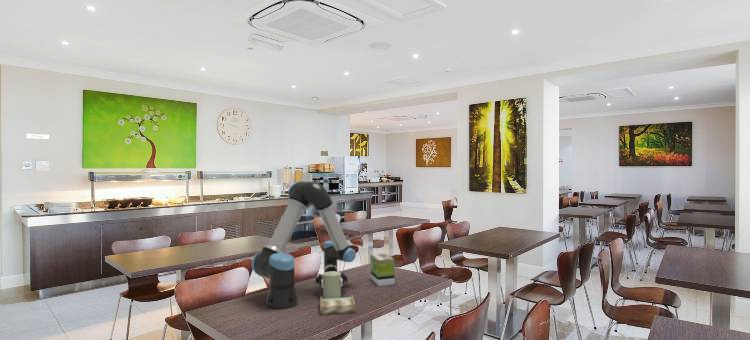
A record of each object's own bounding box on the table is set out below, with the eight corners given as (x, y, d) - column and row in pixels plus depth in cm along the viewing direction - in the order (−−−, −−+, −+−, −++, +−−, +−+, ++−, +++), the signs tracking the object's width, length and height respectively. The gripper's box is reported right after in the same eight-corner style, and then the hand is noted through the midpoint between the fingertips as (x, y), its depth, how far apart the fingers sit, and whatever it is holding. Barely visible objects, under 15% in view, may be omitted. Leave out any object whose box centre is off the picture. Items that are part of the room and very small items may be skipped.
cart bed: (320, 314, 183) (320, 306, 183) (320, 303, 199) (320, 295, 199) (355, 312, 185) (355, 304, 185) (352, 301, 201) (352, 294, 201)
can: (319, 297, 208) (318, 273, 208) (330, 292, 216) (329, 269, 216) (334, 299, 203) (333, 275, 203) (344, 294, 211) (344, 271, 211)
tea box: (370, 279, 240) (369, 254, 240) (386, 277, 243) (386, 252, 243) (377, 286, 226) (377, 259, 225) (395, 284, 229) (394, 258, 228)
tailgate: (320, 303, 198) (320, 301, 198) (320, 300, 203) (320, 298, 203) (352, 301, 200) (352, 299, 200) (352, 298, 205) (352, 296, 205)
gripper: (350, 278, 229) (353, 290, 206) (311, 280, 226) (310, 292, 204) (350, 265, 229) (353, 275, 206) (311, 266, 226) (310, 277, 204)
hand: (332, 284), depth 205 cm, fingers closed on can, 9 cm apart
